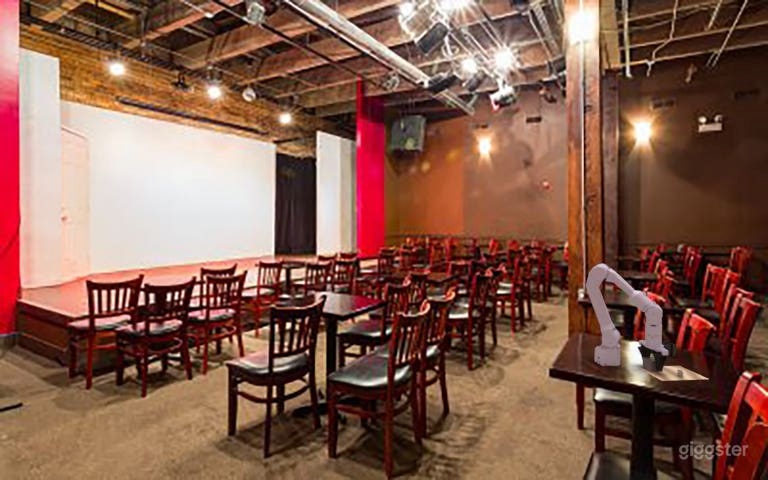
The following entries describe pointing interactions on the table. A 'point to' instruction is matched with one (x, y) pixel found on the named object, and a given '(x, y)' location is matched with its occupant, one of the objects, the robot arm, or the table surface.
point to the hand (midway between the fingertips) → (652, 367)
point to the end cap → (668, 348)
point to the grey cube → (650, 364)
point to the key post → (680, 373)
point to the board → (674, 374)
